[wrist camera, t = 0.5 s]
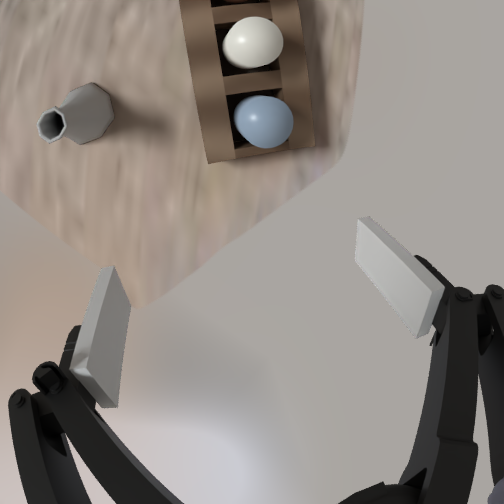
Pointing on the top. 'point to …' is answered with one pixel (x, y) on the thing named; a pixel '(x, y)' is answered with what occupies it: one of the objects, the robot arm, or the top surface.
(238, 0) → the peach orange ball
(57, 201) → the top surface
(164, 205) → the top surface
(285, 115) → the blue rounded lump
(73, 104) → the flask
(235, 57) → the off-white round ball
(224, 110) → the wooden egg tray
